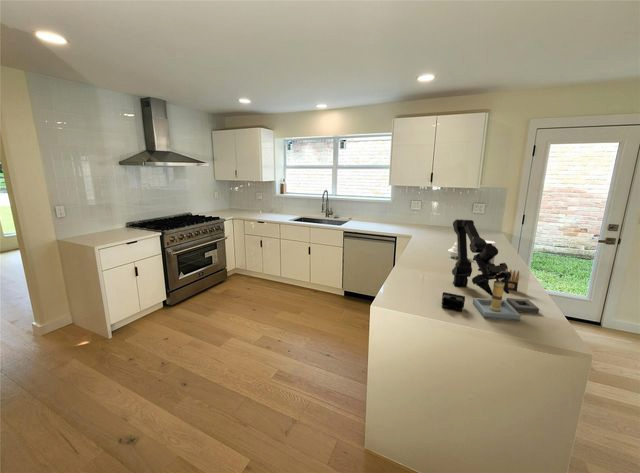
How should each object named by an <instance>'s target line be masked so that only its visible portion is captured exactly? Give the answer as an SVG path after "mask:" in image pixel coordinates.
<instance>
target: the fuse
mask: <svg viewBox="0 0 640 473" xmlns="http://www.w3.org/2000/svg"><path fill="white" fill-rule="evenodd" d="M492 286H493V288H492V293H493V296H491V299H492V300H491V305H490V310H492V311H494V312H500V309H501V301H502V300H503V296H504V295H503V292H504V290H503V288H504V282H501V281H496V280H494V281H493V285H492Z"/></svg>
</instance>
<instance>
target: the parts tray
mask: <svg viewBox="0 0 640 473" xmlns="http://www.w3.org/2000/svg"><path fill="white" fill-rule="evenodd" d="M491 300H492V298H491V299H489V298H477V297H472V305H473V306H474V307H475V309H476V311H478V312H479V314H480V315H481V316H482V318H483V319H487V320H488V319H489V320H498V321H499V320H501V321H511V322H521V316H522V315H521V314H520V312H517V311H516V310H515V309H514V308H513V307H512V306H511V305H510V304H509V303H508V302H507V301H506V300H503V299H502V301H501V309H500V312H494V311H492V310H490V305H491Z"/></svg>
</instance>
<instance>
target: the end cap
mask: <svg viewBox="0 0 640 473" xmlns="http://www.w3.org/2000/svg"><path fill="white" fill-rule="evenodd" d="M465 301H466V296H465V295H460V294H455V293H451V292H446V291H443V292H442V297H441V309H443V310H447V311H451V312H457V313H463V309H464V308H465Z"/></svg>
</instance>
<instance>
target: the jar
mask: <svg viewBox="0 0 640 473" xmlns="http://www.w3.org/2000/svg"><path fill="white" fill-rule="evenodd" d="M484 240H485V242H486V243H492V245H493V246H495V247H496V245H497V243H496V241H493V240H486V239H484ZM495 257H496V256H495ZM495 257H494V258H492V259H491V260H490V262H491V264H495Z"/></svg>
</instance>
